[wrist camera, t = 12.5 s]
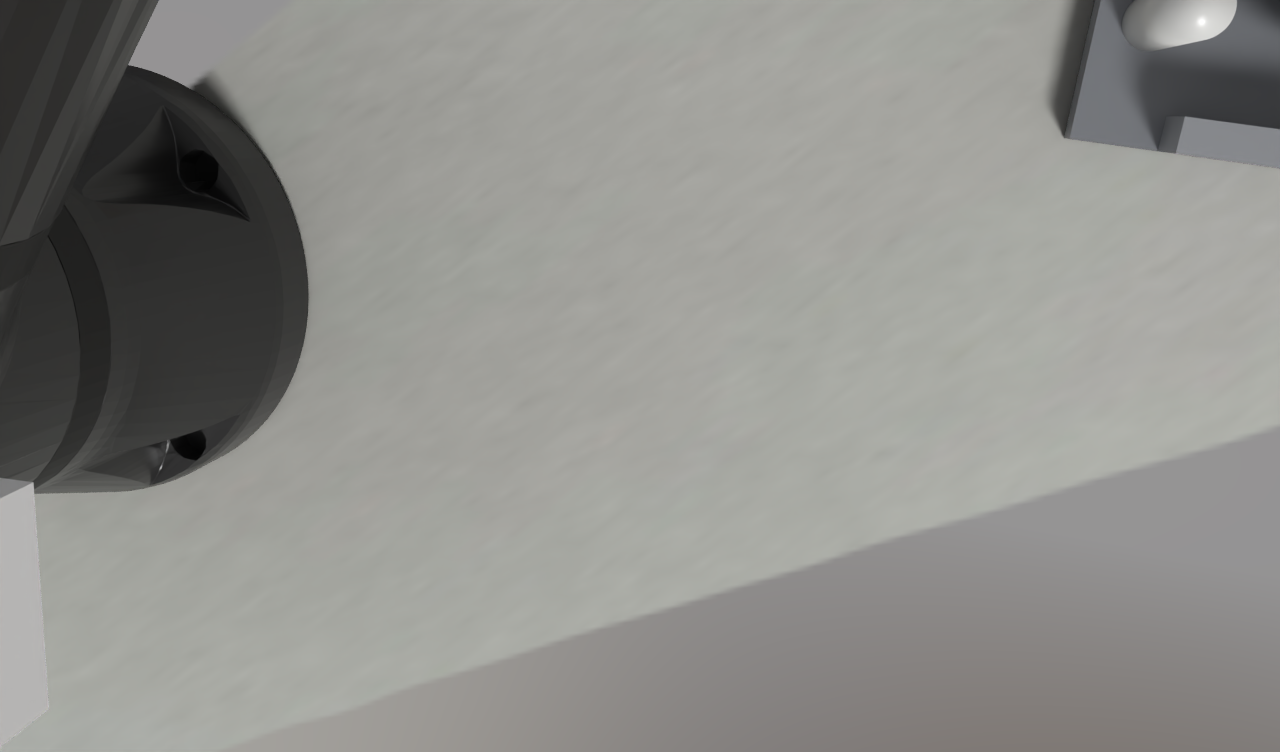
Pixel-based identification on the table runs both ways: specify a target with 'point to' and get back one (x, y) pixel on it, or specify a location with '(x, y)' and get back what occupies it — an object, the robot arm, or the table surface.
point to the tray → (1182, 78)
